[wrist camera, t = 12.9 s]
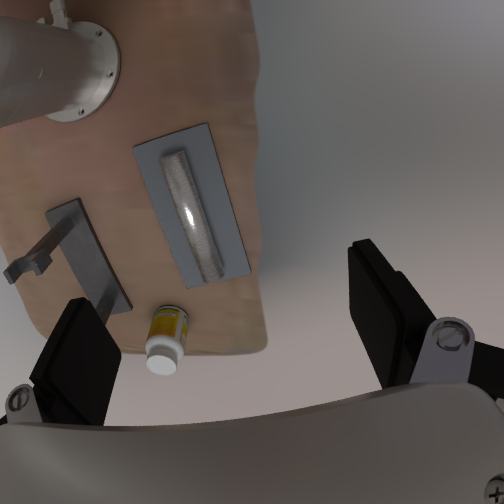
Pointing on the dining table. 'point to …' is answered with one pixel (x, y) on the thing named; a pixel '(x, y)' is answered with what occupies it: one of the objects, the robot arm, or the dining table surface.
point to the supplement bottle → (166, 340)
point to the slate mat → (210, 195)
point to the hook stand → (76, 259)
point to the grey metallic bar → (191, 215)
